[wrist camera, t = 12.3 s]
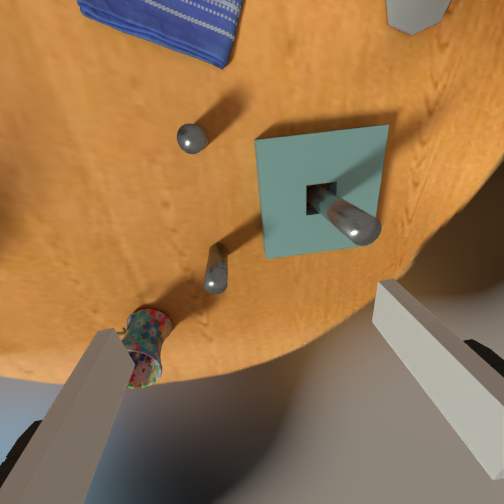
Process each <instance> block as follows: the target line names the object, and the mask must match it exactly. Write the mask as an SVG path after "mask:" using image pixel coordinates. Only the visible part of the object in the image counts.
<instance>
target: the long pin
mask: <svg viewBox="0 0 504 504" xmlns="http://www.w3.org/2000/svg"><path fill="white" fill-rule="evenodd" d="M306 201H307V202H308V203H309V204H310V205H311V206H312V207H313V208H314V209H316V210H317V211H318V212H319V213H320V214H321V215H322V216H324V217H325V218H326V219H327V220H328V221H329V222H330V223H332V224H333V225H334V226H335V227H336V228H337V229H338V230H340V231H341V232H342V233H343V234H344V235H345V236H346V237H348V238H349V239H350V240H351V241H352V242H353V243H354V244H356V245H359V246H365V245H368V244H371V243H372V242H374V241H375V240H376V239H377V238H378V236H379V235H380V232H381V223H380V221H379V220H378V219H377V218H375V217H374V216H372V215H370V214H368V213H367V212H365V211H363V210H361V209H360V208H358V207H356V206H354V205H353V204H351V203H349V202H347V201H346V200H344V199H342V198H340V197H339V196H337V195H335V194H333V193H332V192H330V191H328V190H326V189H325V188H323V187H321V186H319V185H312V186H310V187H309V188H308V189H307V190H306Z"/></svg>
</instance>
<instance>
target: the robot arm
mask: <svg viewBox="0 0 504 504" xmlns="http://www.w3.org/2000/svg"><path fill="white" fill-rule="evenodd" d="M372 322H373V324H374V325H375V326H376V327H377V329H378V330H379V331H380V333H381V334H382V335H383V337H384V338H385V339H386V341H387V342H388V343H389V345H390V346H391V347H392V348H393V350H394V351H395V352H396V354H397V355H398V356H399V358H400V359H401V360H402V362H403V363H404V364H405V365H406V367H407V368H408V369H409V371H410V372H411V373H412V375H413V376H414V377H415V379H416V380H417V381H418V383H419V384H420V385H421V386H422V388H423V389H424V390H425V392H426V393H427V394H428V396H429V397H430V398H431V400H432V401H433V402H434V403H435V405H436V406H437V407H438V409H439V410H440V411H441V413H442V414H443V415H444V416H445V418H446V419H447V420H448V422H449V423H450V424H451V426H452V427H453V428H454V430H455V431H456V432H457V434H458V435H459V436H460V438H461V439H462V440H463V441H464V443H465V444H466V445H467V447H468V448H469V449H470V451H471V452H472V453H473V455H474V456H475V457H476V459H477V460H478V461H479V462H480V464H481V465H482V466H483V468H484V469H485V470H486V472H487V473H488V474H489V476H490V477H491V478H492V480H497V479H501V478H504V360H503V359H502V358H501V357H499V356H498V355H497V354H496V353H495V352H493V351H492V350H491V349H489V348H487V347H485V346H484V345H482V344H480V343H478V342H477V341H475V340H473V339H470V340H465V341H462V340H461V339H460V338H459V337H458V336H456V335H455V334H454V333H453V332H452V331H451V330H450V329H449V328H447V327H446V326H445V325H444V324H443V323H442V322H441V321H440V320H439V319H438V318H436V317H435V316H434V315H433V314H432V313H431V312H430V311H429V310H427V309H426V308H425V307H424V306H423V305H422V304H420V302H418V301H417V300H416V299H415V298H414V297H413V296H412V295H411V294H410V293H408V292H407V291H406V290H405V289H404V288H403V287H402V286H400V285H399V284H398V283H397V282H396V281H395V280H394V279H390V280H384V281H378V287H377V293H376V300H375V306H374V314H373V319H372ZM134 367H135V364H134V362H133V360H132V358H131V357H130V355H129V353H128V352H127V350H126V348H125V346H124V345H123V343H122V341H121V340H120V338H119V336H118V334H117V333H116V331H115V329H114V328H112V329H106V330H101V331H98V332H97V333H96V335H95V336H94V338H93V340H92V341H91V343H90V345H89V346H88V348H87V349H86V351H85V353H84V354H83V356H82V357H81V359H80V361H79V362H78V364H77V366H76V367H75V369H74V370H73V372H72V374H71V375H70V377H69V378H68V380H67V382H66V383H65V385H64V387H63V388H62V390H61V391H60V393H59V395H58V396H57V398H56V399H55V401H54V403H53V404H52V406H51V408H50V409H49V411H48V412H47V414H46V416H45V417H44V419H43V420H39V421H35V422H34V423H33V424H32V425H31V426H30V427H29V428H28V429H27V430H26V431H25V432H24V433H23V434H22V435H21V436H20V437H19V439H18V440H17V441H16V443H15V445H14V446H13V447H12V449H11V450H10V452H9V453H8V455H7V456H6V458H5V461H4V462H2V464H1V465H0V504H83V503H84V500H85V497H86V495H87V492H88V489H89V487H90V484H91V481H92V479H93V476H94V473H95V471H96V468H97V465H98V463H99V460H100V457H101V455H102V452H103V449H104V447H105V444H106V441H107V439H108V436H109V433H110V431H111V428H112V425H113V423H114V420H115V417H116V415H117V412H118V409H119V407H120V404H121V401H122V399H123V396H124V393H125V391H126V388H127V385H128V383H129V380H130V377H131V375H132V372H133V369H134Z"/></svg>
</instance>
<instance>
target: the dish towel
mask: <svg viewBox="0 0 504 504" xmlns="http://www.w3.org/2000/svg"><path fill="white" fill-rule="evenodd" d="M242 2H243V0H77V4H78V5H79V6H80V11H81V13H82V14H83V15H84V16H86V17H88V18H90V19H93V20H95V21H98V22H100V23H103V24H106V25H108V26H110V27H112V28H114V29H117V30H119V31H122V32H124V33H127V34H130V35H133V36H136V37H139V38H142V39H144V40H148V41H151V42H153V43H156V44H159V45H161V46H164V47H166V48H169V49H171V50H174V51H177V52H180V53H183V54H186V55H189V56H192V57H195V58H198V59H200V60H203V61H205V62H208V63H210V64H213V65H214V66H216V67H219V68H221V69H223V68H224V67H225V65H227V63H228V59H229V56H230V52H231V48H232V45H233V42H234V39H235V33H236V28H237V23H238V19H239V15H240V11H241V6H242Z"/></svg>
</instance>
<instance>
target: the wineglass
mask: <svg viewBox="0 0 504 504" xmlns="http://www.w3.org/2000/svg"><path fill="white" fill-rule="evenodd" d="M450 1H451V0H385V2H386V13H387V24H388V26H391V27H393V28H395V29H397V30H399V31H401V32H403V33H406V34H408V35H410V36H412V35H414V34H416V33H418V32H421V31H423V30H425V29H427V28H429V27H431V26H434V25H436V24H438V23H440V22H441V20H442V18H443V16H444V14H445V12H446V10H447V7H448V5H449V3H450Z"/></svg>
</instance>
